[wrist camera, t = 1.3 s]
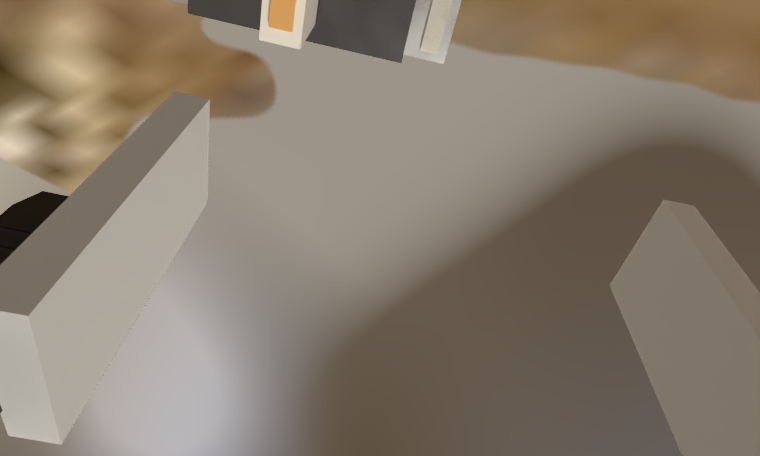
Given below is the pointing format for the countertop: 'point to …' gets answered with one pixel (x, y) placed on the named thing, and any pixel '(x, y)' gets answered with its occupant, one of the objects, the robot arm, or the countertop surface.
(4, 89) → the countertop surface
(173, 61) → the countertop surface
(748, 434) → the robot arm
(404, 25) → the panel
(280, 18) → the handle
